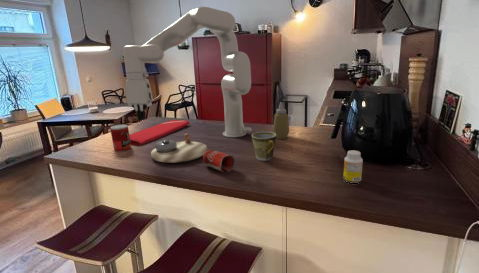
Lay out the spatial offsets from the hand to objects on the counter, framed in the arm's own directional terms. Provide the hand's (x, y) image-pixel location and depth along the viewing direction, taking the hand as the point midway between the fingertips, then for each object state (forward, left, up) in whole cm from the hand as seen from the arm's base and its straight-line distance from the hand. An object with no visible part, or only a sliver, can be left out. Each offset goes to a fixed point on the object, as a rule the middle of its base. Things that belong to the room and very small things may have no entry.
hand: (141, 119), depth 124 cm
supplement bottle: (-84, +20, -16) cm, 88 cm away
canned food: (+16, -7, -16) cm, 24 cm away
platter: (-16, 0, -15) cm, 22 cm away
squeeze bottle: (-59, -28, -16) cm, 67 cm away
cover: (-10, 0, -14) cm, 17 cm away
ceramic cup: (-54, +2, -16) cm, 56 cm away
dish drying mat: (+11, -33, -17) cm, 39 cm away
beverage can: (-36, +13, -16) cm, 42 cm away
